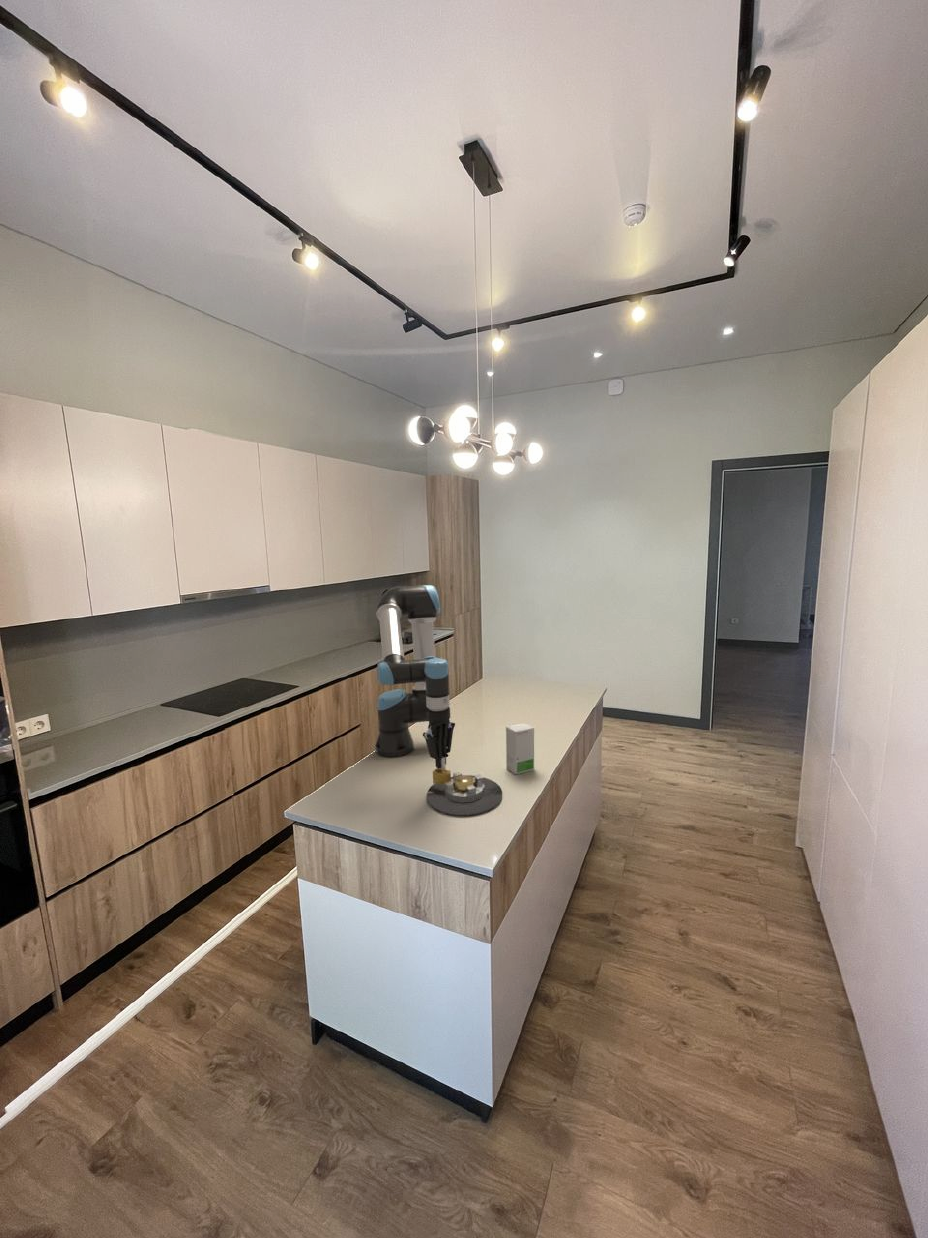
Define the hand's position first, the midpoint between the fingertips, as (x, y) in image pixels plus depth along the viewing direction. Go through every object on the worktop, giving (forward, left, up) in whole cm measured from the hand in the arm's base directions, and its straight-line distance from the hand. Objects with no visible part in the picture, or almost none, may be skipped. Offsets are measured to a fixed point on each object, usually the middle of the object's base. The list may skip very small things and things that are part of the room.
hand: (441, 775), depth 158 cm
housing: (+9, -3, -5) cm, 10 cm away
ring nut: (+7, -3, -3) cm, 8 cm away
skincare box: (+24, +19, -5) cm, 30 cm away
